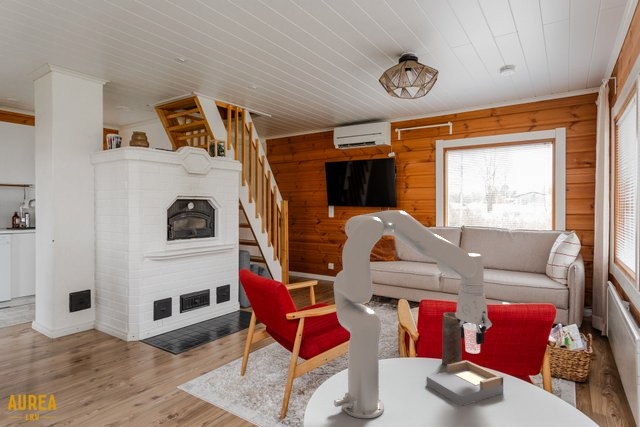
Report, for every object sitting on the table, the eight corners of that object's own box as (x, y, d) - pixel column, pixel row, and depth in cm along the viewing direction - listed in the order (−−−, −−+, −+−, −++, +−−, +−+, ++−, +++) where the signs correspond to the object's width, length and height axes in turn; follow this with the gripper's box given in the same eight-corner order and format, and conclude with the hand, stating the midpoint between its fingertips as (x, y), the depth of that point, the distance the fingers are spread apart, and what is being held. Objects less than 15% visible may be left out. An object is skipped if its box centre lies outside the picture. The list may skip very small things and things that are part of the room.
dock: (461, 405, 119) (460, 388, 119) (426, 384, 134) (426, 369, 134) (503, 393, 127) (503, 376, 127) (466, 374, 142) (466, 360, 142)
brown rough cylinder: (459, 360, 155) (459, 312, 155) (464, 368, 148) (464, 317, 148) (440, 360, 156) (439, 311, 156) (444, 367, 148) (444, 316, 148)
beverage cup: (459, 349, 134) (459, 310, 134) (472, 346, 136) (472, 308, 136) (472, 355, 128) (472, 314, 128) (486, 352, 130) (485, 312, 130)
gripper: (445, 285, 138) (446, 334, 138) (484, 295, 122) (484, 350, 123) (461, 284, 141) (461, 332, 141) (500, 292, 126) (501, 346, 126)
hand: (472, 340), depth 132 cm, fingers closed on beverage cup, 6 cm apart
